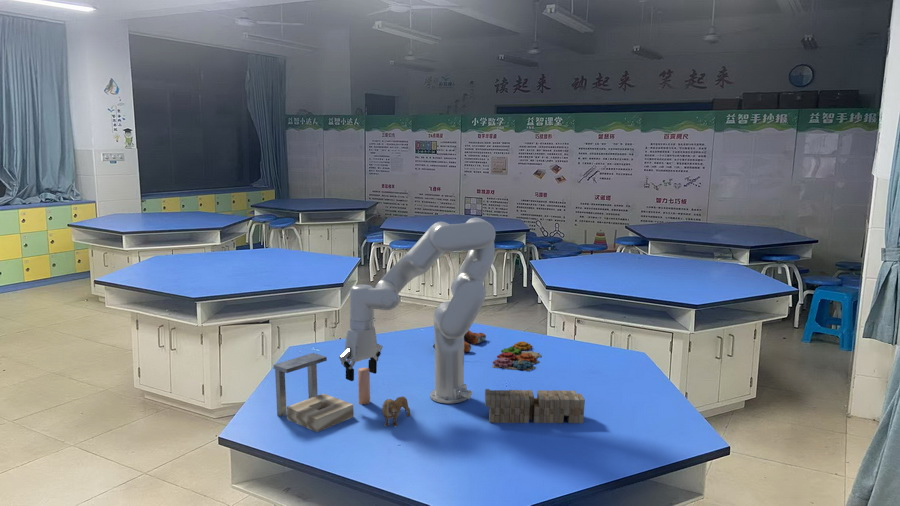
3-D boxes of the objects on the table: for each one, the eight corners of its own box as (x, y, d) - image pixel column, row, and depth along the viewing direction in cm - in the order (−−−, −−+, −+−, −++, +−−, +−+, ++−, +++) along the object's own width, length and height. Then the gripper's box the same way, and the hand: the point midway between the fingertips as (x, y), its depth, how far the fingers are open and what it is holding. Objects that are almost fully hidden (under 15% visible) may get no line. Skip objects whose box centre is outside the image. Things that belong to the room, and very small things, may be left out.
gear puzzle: (507, 345, 270) (507, 335, 269) (546, 348, 265) (546, 338, 264) (490, 369, 240) (490, 358, 240) (533, 373, 236) (533, 362, 235)
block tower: (578, 416, 199) (483, 412, 199) (580, 390, 198) (484, 386, 198) (583, 427, 191) (484, 423, 192) (585, 400, 190) (485, 396, 190)
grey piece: (328, 406, 204) (326, 356, 202) (288, 421, 193) (286, 369, 190) (315, 401, 208) (313, 352, 206) (275, 415, 197) (273, 364, 194)
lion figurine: (395, 432, 185) (395, 403, 184) (378, 430, 187) (378, 401, 185) (413, 413, 199) (413, 385, 197) (397, 411, 200) (396, 383, 199)
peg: (372, 402, 208) (371, 369, 206) (364, 405, 205) (363, 372, 203) (364, 399, 210) (364, 366, 208) (356, 402, 207) (355, 369, 205)
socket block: (353, 417, 196) (353, 404, 195) (316, 432, 185) (316, 419, 185) (323, 405, 205) (323, 393, 204) (287, 419, 194) (286, 406, 194)
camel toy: (429, 351, 256) (471, 361, 251) (435, 318, 256) (478, 327, 252) (444, 348, 280) (482, 357, 276) (450, 318, 281) (489, 326, 276)
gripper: (373, 317, 212) (373, 367, 215) (332, 326, 199) (332, 380, 202) (389, 321, 207) (389, 372, 210) (349, 331, 194) (348, 386, 197)
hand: (361, 376), depth 206 cm, fingers open, 9 cm apart
